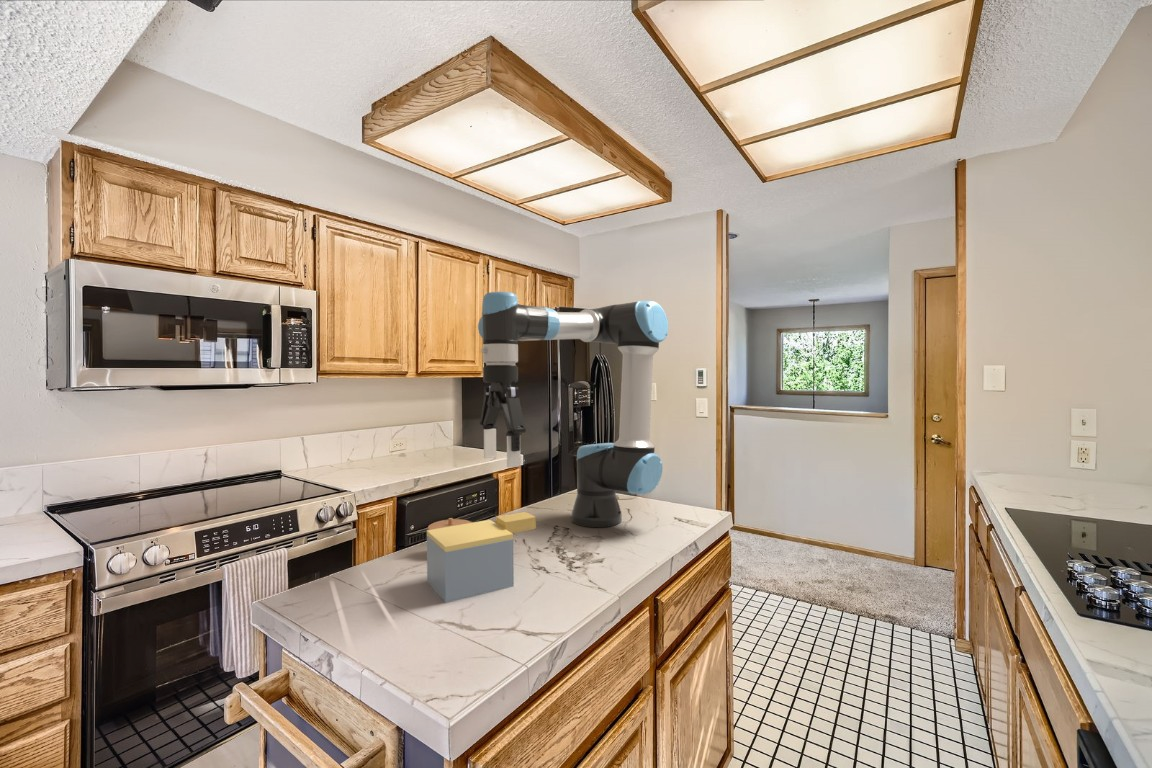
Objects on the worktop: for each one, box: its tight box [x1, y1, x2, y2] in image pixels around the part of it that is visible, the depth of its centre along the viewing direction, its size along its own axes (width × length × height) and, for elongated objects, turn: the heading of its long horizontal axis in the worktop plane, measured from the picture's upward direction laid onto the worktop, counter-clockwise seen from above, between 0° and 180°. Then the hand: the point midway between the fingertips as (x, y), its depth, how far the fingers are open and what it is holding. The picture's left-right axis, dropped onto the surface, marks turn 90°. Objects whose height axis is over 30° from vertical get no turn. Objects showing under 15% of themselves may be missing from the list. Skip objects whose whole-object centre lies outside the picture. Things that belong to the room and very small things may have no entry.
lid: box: [426, 511, 537, 552], centre depth 106 cm, size 21×12×2 cm, turn 122°
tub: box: [426, 535, 515, 604], centre depth 104 cm, size 14×12×11 cm
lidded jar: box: [427, 517, 473, 530], centre depth 124 cm, size 11×11×9 cm
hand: (501, 462), depth 111 cm, fingers open, 13 cm apart
